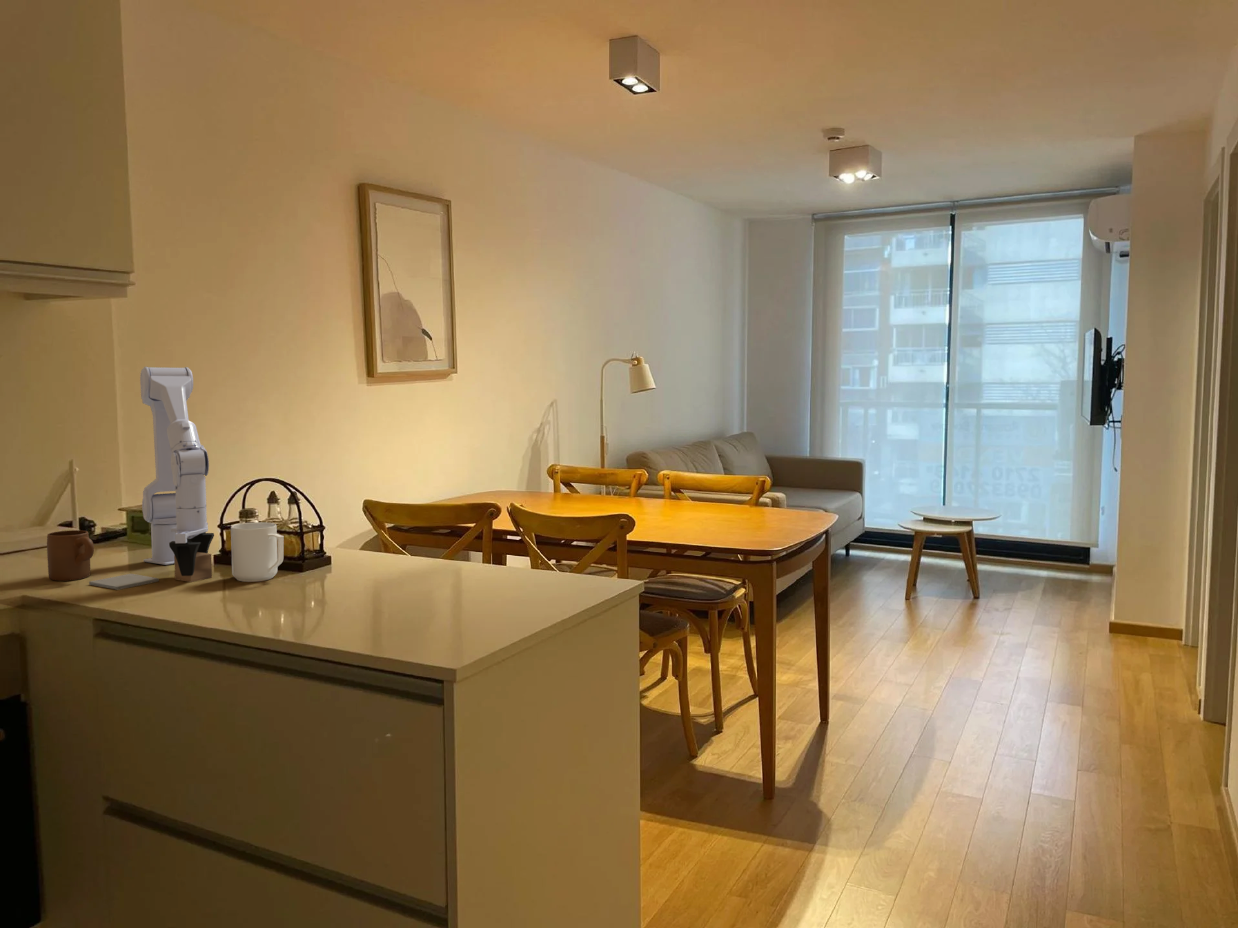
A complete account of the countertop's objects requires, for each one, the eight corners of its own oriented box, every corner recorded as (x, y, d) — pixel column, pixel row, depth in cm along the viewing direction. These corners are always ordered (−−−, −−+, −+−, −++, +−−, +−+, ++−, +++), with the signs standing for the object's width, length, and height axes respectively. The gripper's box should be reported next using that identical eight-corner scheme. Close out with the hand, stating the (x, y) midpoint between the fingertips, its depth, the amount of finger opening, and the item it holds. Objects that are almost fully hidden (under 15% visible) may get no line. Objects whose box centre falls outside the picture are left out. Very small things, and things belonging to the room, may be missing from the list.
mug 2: (222, 579, 192) (221, 527, 191) (255, 571, 200) (254, 521, 199) (266, 585, 187) (265, 531, 186) (298, 577, 195) (297, 525, 194)
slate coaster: (131, 576, 194) (131, 573, 194) (158, 581, 190) (158, 578, 190) (89, 584, 186) (89, 581, 186) (117, 589, 182) (117, 586, 182)
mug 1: (111, 578, 192) (109, 534, 191) (74, 585, 185) (72, 539, 184) (77, 572, 198) (75, 528, 197) (40, 578, 191) (38, 533, 190)
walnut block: (195, 574, 197) (195, 551, 196) (211, 577, 194) (211, 553, 194) (175, 579, 192) (174, 555, 192) (191, 581, 190) (190, 557, 189)
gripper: (182, 502, 198) (184, 564, 200) (158, 512, 184) (160, 579, 185) (217, 502, 199) (218, 564, 201) (195, 511, 185) (197, 578, 186)
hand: (193, 571), depth 193 cm, fingers closed on walnut block, 7 cm apart
